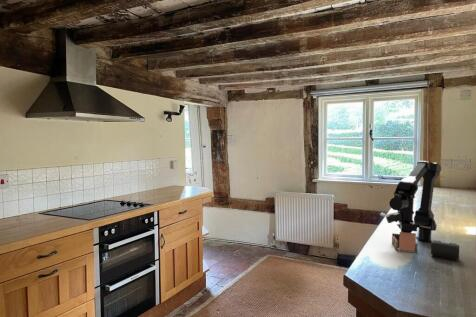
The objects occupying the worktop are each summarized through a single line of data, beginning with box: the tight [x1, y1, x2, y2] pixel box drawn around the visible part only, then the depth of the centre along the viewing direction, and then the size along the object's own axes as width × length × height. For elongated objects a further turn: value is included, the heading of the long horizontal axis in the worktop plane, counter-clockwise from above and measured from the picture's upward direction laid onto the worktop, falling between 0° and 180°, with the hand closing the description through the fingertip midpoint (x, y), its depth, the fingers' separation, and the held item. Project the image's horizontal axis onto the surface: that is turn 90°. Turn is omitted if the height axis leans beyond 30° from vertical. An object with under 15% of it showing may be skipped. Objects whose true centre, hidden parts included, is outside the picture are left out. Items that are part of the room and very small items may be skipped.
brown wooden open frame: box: [391, 232, 419, 254], centre depth 153 cm, size 11×9×5 cm
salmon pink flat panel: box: [398, 231, 417, 254], centre depth 147 cm, size 1×7×9 cm, turn 74°
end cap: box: [430, 240, 460, 261], centre depth 141 cm, size 10×7×7 cm
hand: (404, 241), depth 153 cm, fingers closed
